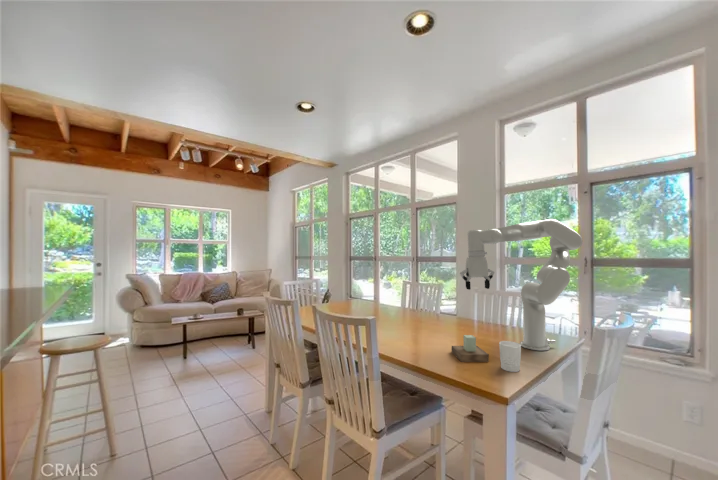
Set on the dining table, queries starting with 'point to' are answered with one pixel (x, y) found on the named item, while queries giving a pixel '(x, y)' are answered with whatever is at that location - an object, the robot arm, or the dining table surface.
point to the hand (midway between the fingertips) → (477, 288)
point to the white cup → (510, 355)
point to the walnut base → (470, 354)
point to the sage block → (469, 343)
